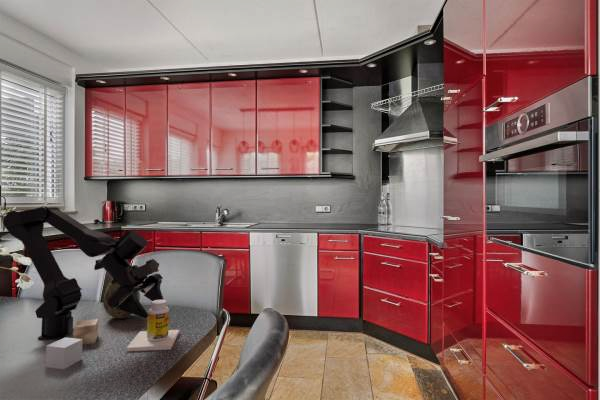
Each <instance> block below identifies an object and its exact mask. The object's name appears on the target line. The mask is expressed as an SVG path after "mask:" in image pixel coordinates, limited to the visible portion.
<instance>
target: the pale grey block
mask: <svg viewBox="0 0 600 400" xmlns="http://www.w3.org/2000/svg"><path fill="white" fill-rule="evenodd" d="M45 348H46V349H45V350H46V352H45V367H46V368H50V369H58V370H59V369H60V370H66V369H67V368H69V367H70V366H72V365H75V364H76V363H78V362H79V361H82V359H83V344H82V339H76V338H74V337H66V336H65V337H64V338H60V339H59V340H58V339H57V340H56V341H54V342H51V343H49V344H47V345H46V347H45Z"/></svg>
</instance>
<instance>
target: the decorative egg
mask: <svg viewBox="0 0 600 400" xmlns="http://www.w3.org/2000/svg"><path fill="white" fill-rule="evenodd" d="M112 280H113V279H112V278H111V280H110V281H109V283H108V284H107V286H106V288H105V291H104V294H103V308H104V310H105V312H106V314H108V315H109V316H110V317H112V318H115V319H119V320H120V319H125V318H128V317H129V316H131V315H133V314H132V313H129V312H126V311H123V310H119V309H118V310H116V309H115V308H116V307H115V308H113V309H111V308H110V307H109V306H108V305H107V298H109V297H110V296H111V295H112V294H113V293H114V292H115V291H116V290H117V289H118V288H119V286H118V284H117V283H116V284H112V283H111V281H112ZM140 293H141V291H139V292H137V298H138V300H139V302H140V300H141V299H140V298H141V294H140Z"/></svg>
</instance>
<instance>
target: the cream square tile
mask: <svg viewBox="0 0 600 400" xmlns="http://www.w3.org/2000/svg"><path fill="white" fill-rule="evenodd" d="M179 334H180V329H168V336H167V338H165V339H163V340H160V341H150V340H148V339H147V330H142V331H139V332H138V333H137V334H136V336H135V337H133V339H132V340H131V342H130V343H129V344H128V345H127V346H126V352H140V351H141V352H144V351H164V350H165V351H166V350H171V349H172V348H173V345H174V344H175V341H176V340H177V338H178V336H179Z"/></svg>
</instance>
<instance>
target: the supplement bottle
mask: <svg viewBox="0 0 600 400" xmlns="http://www.w3.org/2000/svg"><path fill="white" fill-rule="evenodd" d="M147 314H148V315H149V316H148V317H147V324H146V327H147V328H146V331H147V339H148V340H150V341H160V340H163V339H165V338H167V336H168V330H169V325H170V322H169V321H170V320H169V319H170V308H169V307H168V306H167V300H166V299H164V300H154V301H151V303H150V307H149V309H148V310H147Z"/></svg>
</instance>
